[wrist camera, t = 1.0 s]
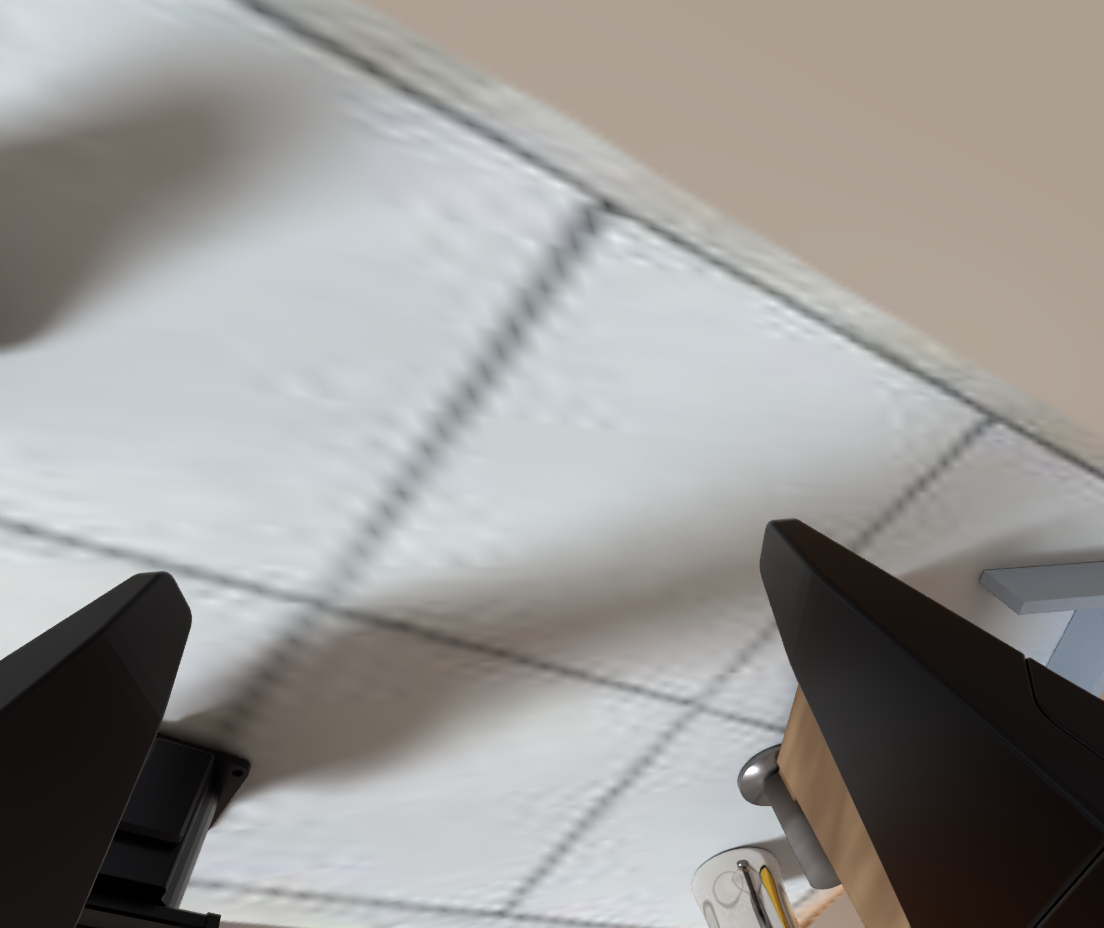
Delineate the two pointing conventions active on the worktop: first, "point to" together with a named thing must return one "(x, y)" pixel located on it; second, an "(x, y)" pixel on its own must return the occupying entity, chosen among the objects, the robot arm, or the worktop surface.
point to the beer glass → (743, 891)
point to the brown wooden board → (828, 822)
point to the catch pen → (1089, 588)
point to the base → (758, 775)
